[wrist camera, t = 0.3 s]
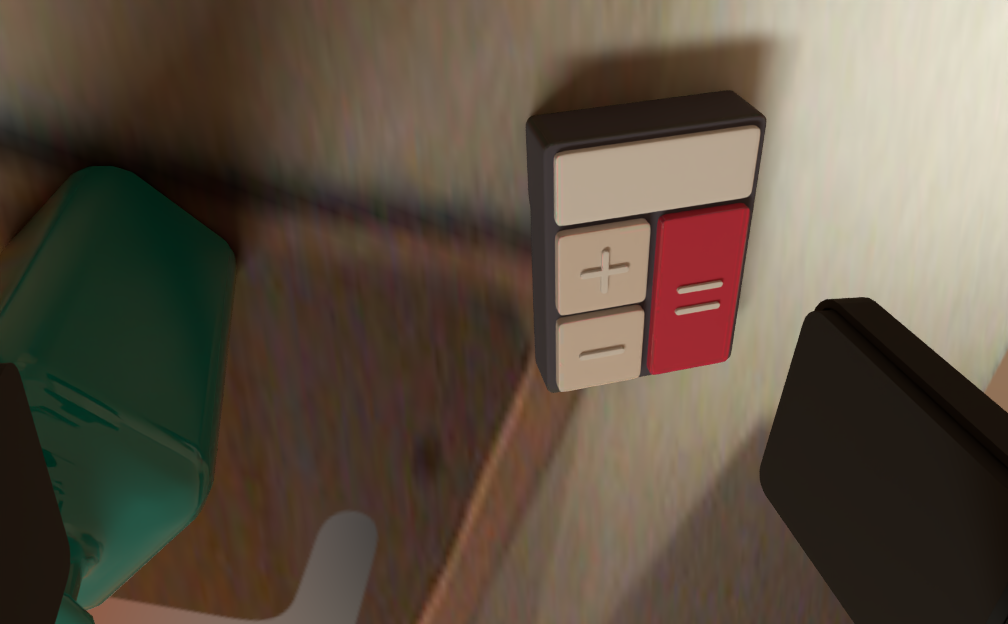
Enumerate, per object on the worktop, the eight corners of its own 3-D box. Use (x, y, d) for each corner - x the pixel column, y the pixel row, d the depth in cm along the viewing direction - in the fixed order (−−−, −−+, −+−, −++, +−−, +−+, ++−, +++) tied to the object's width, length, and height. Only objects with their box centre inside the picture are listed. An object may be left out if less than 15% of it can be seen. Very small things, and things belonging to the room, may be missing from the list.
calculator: (551, 404, 45) (547, 151, 36) (531, 357, 48) (524, 115, 39) (737, 369, 46) (777, 119, 38) (705, 325, 50) (735, 87, 41)
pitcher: (255, 257, 40) (227, 637, 22) (145, 366, 42) (34, 802, 24) (71, 121, 35) (-166, 468, 17) (-46, 252, 37) (-375, 696, 18)
